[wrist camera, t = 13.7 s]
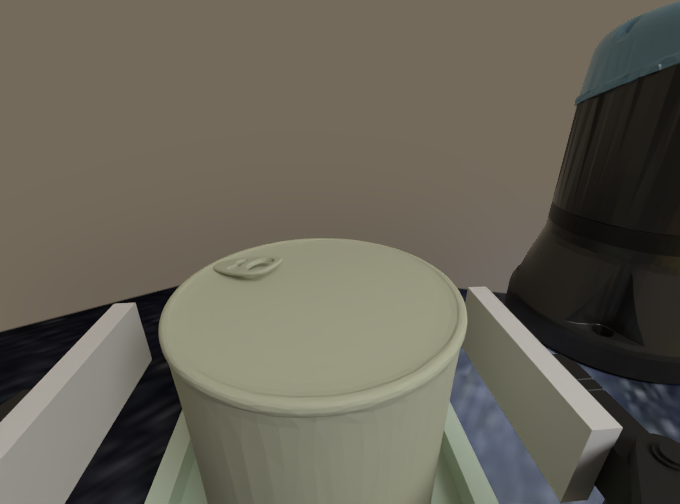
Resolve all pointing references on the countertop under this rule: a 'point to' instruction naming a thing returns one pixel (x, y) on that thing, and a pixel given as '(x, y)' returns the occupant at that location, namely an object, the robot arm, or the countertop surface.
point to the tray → (448, 493)
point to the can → (315, 372)
